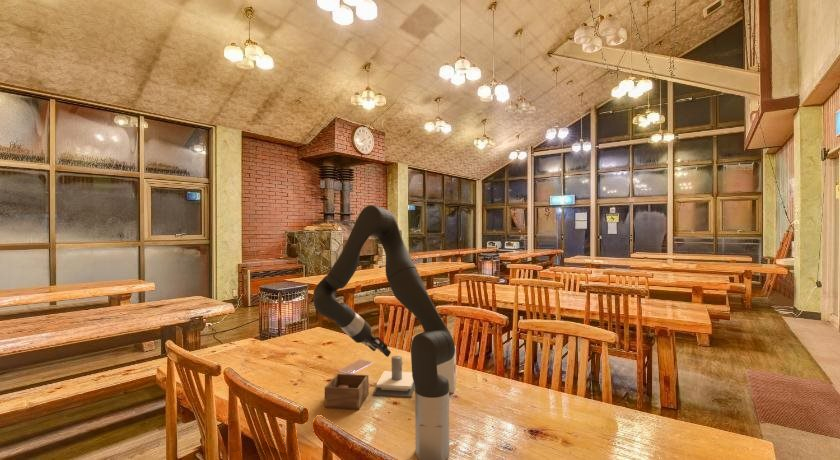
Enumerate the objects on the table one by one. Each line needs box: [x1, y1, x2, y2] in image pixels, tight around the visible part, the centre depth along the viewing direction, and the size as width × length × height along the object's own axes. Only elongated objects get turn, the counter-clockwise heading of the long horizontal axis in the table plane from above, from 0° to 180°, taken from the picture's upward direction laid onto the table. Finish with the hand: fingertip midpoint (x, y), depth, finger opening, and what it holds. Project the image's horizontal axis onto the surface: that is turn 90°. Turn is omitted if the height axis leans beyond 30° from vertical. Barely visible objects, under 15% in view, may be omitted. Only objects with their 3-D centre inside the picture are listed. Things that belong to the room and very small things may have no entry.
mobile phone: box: [338, 359, 373, 374], centre depth 166 cm, size 8×1×15 cm
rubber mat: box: [372, 382, 415, 399], centre depth 146 cm, size 18×14×1 cm
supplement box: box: [437, 345, 457, 394], centre depth 144 cm, size 9×9×15 cm
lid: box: [375, 355, 414, 391], centre depth 146 cm, size 13×13×10 cm
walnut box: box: [324, 373, 370, 411], centre depth 134 cm, size 12×12×7 cm
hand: (382, 351), depth 141 cm, fingers open, 8 cm apart
